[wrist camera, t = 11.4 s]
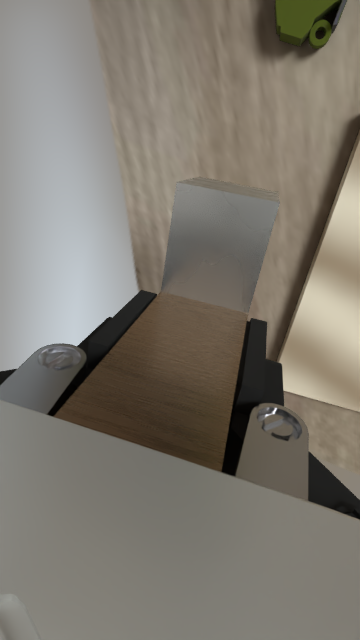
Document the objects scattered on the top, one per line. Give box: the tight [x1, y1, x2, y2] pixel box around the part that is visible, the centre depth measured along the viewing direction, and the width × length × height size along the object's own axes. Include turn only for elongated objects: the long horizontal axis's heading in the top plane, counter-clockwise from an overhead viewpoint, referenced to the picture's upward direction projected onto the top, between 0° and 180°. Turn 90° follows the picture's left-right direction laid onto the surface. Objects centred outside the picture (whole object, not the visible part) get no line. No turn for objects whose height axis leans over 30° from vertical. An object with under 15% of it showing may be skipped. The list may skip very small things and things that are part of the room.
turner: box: [54, 177, 280, 472], centre depth 10 cm, size 10×3×10 cm, turn 171°
